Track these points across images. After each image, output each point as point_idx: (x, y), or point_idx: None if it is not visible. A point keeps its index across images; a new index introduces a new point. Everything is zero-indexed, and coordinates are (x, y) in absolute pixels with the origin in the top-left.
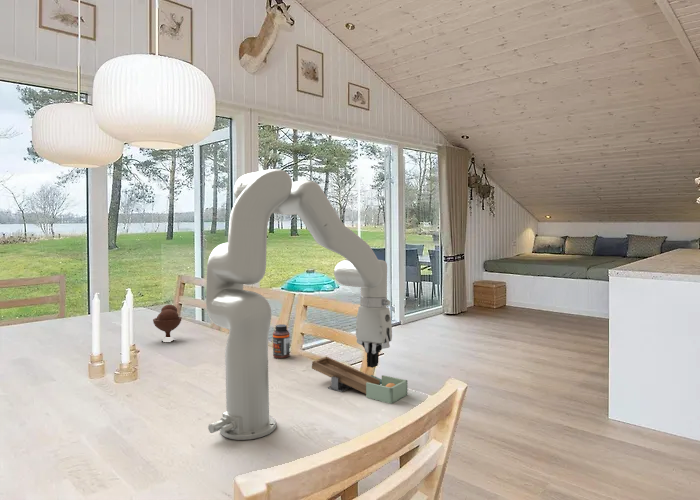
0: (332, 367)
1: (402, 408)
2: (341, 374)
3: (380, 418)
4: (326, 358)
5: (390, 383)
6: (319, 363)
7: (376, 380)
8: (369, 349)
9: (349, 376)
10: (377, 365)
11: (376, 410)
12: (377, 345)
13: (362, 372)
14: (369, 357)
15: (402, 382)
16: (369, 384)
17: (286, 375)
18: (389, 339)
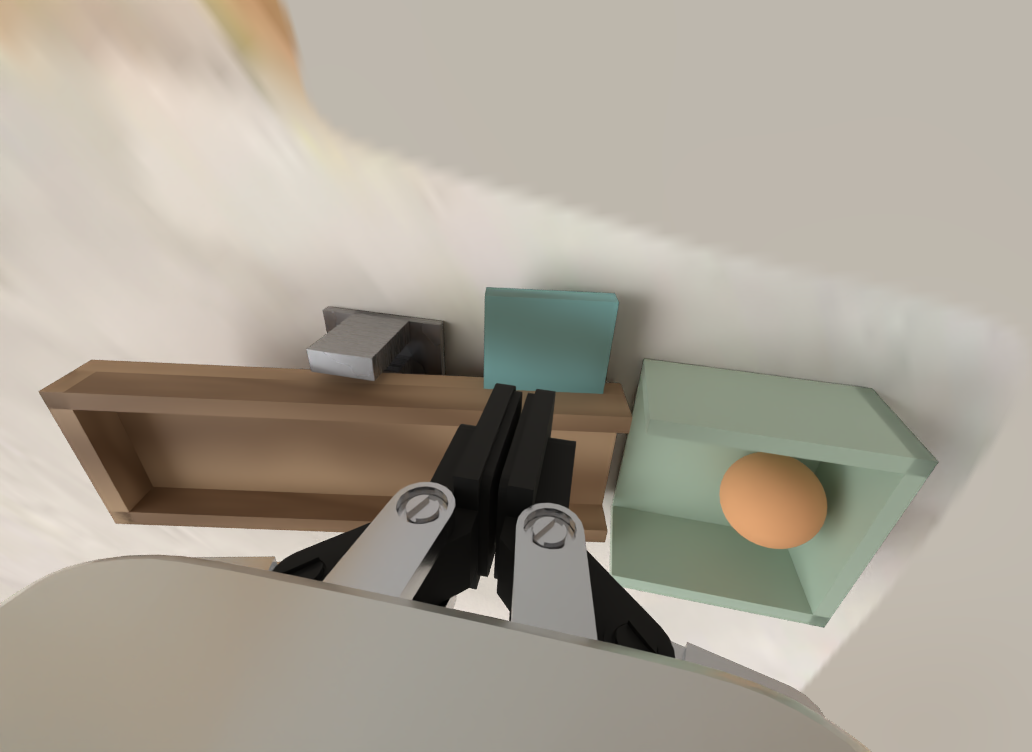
0: (214, 423)
1: (873, 571)
2: None
3: (782, 665)
4: (78, 412)
5: (781, 540)
6: (167, 516)
7: (607, 428)
8: (448, 598)
9: (397, 443)
10: (554, 393)
11: (734, 613)
12: (525, 616)
13: (451, 409)
14: (495, 543)
15: (892, 516)
16: (637, 586)
17: (42, 388)
18: (812, 742)
